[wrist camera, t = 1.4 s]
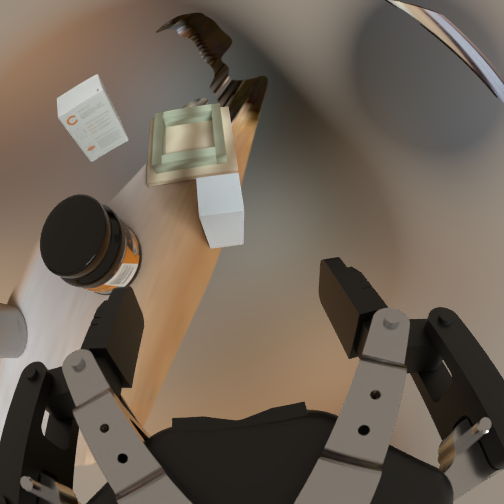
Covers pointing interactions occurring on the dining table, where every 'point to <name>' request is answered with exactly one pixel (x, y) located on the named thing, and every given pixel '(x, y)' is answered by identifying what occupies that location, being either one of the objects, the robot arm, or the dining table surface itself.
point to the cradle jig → (190, 145)
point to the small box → (91, 118)
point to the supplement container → (90, 246)
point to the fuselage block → (221, 209)
